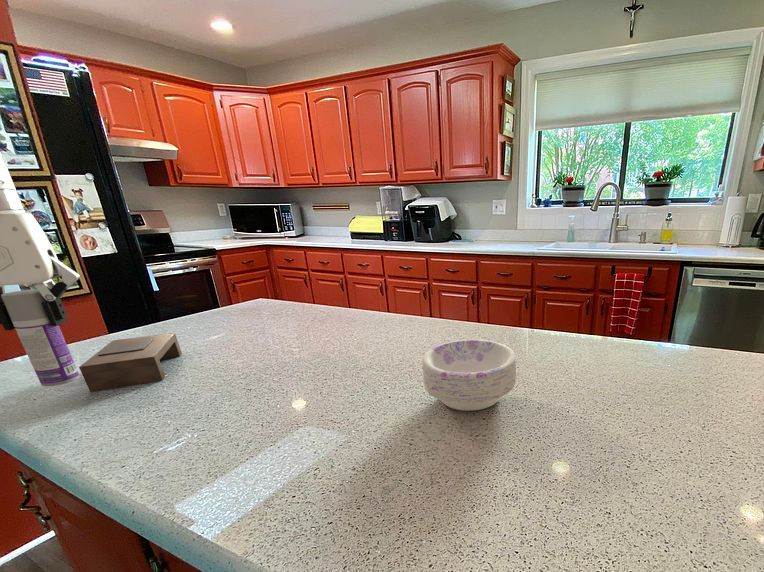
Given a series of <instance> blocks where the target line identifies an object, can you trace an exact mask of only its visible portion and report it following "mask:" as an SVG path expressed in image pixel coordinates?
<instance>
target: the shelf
mask: <svg viewBox="0 0 764 572" xmlns="http://www.w3.org/2000/svg"><path fill="white" fill-rule="evenodd" d="M182 354H183V353H182V350H181V347H180V344H179V341H178V337H177V334H176V332H170V333H161V334H153V335H147V336H146V335H145V336H137V337H130V338H122V339H121V338H119V339H113V340H111V341H110V342H109V343H107V345H105V346H104V347H103V348H101V349H100V350H99V351H98V352H96V353H95V354H94V355H92V356H91V357H90V358H89V359H87V360H86V361H84V362H83V363H82V364H80V366H78V369H79V371H80V374H81V375H82V378H83V380H84V382H85V384H86V386H87V389H88V391H89V392H90V393H93V392H98V391H99V392H100V391H105V390H111V389H118V388H125V387H130V386H136V385H143V384H149V383H156V382H161V381H164V379H165V378H166V375H165V372H164V369H163V366H162V363H161V360H165V359H171V358H178V357H181V356H182Z"/></svg>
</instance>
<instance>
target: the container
mask: <svg viewBox="0 0 764 572" xmlns="http://www.w3.org/2000/svg"><path fill="white" fill-rule="evenodd" d="M1 297H2V299H3V301H4V304H5V306H6V308H7V311H8V313H9V316H10V318H11V320H12V323H13V325H14V327H15V329H14V330H15V331H16V334H17V336H18V338H19V340H20V343H21V344H22V347H23V349H24V351H25V353H26V355H27V357H28V360H29V361H30V364H31V366H32V368H33V370H34V372H35V375H36V376H37V379H38V381H39V383H40V385H41V386H42V387H56V386H62V385H65V384H68V383H73V382H74V381H76V380H77V381H78V379H80V377H81V376H80V373H79V370H78V368H77V366H76V365H77V364H75V361H74V358H73V356H72V354H71V350H70V349H69V347H68V346H69V345H68V344H67V342H66V339H65V337H64V335H63V332H62V330H61V328H60V325H59V326H52V325H51V324H50V322H49V319H48V317H47V315H46V312H45V310H44V308H43V305H42V303H43V302H44V301H45V300H44V297H43V296H42V295H41V293H40V292H39V291H38V290H37V289H25V290H24V289H23V290H15V291H9V292H5V294H2V295H1Z"/></svg>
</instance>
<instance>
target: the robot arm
mask: <svg viewBox="0 0 764 572" xmlns="http://www.w3.org/2000/svg"><path fill="white" fill-rule="evenodd" d="M59 277H61V279H59V281H57V282H56V283H55V282H54V280H53V279H56V278H57V279H58V278H59ZM80 278H81V276H80V274H79V273H78V272H77V271H75V270H74V269H71V268H70V267H69V266H67V265H66V264H65V263H63V262H62V261H60V260H59V259H58V256H57V254H56V252H55V250H54V248H53V245H52V244H51V242H50V240H49V238H48V236H47V235H46V233H45V231H44V230H43V228H42V227H41V225H40V224H39V222H38V221H37V219H36V218H35V216H34V215H33V214H32V213H31V212H26V211H25V208H24V205H23V203H22V200H21V198H20V196H19V193H18V191H17V189H16V187H15V183H14V181H13V179H12V176H11V174H10V172H9V169H8V166H7V163H6V162H5V159H4V156H3V154H2V152H1V151H0V325H1V326H2V327H3V329H4V331H6V332H7V331H13V330H15V327H14V325H13V323H12V320H11V318H10V316H9V313H8V311H7V308H6V306H5V304H4V301H3V299H2V297H1V295H2V294H5V293H6V291H5V288H6V287H5V286H19V285H32V286H34V287H35V290H38V291H39V292H40V293H41V295H42V296H43V297H44V300H45V301H44V302H43V303H42V305H43V308H44V310H45V312H46V315H47V317H48V319H49V322H50V324H51V325H52V326H59V327H60V326H61V325H62V324H65V323H66V322H67V319H68V314H67V311H66V309H65V306H64V304H63V301H62V299H61V298H63V296H64V294H65V292H66V291H67V290H68V289H69V288H70V287H71V286H72V285H73V284H75V283H76V282H77V281H78V280H79V279H80Z"/></svg>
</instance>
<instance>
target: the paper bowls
mask: <svg viewBox="0 0 764 572" xmlns="http://www.w3.org/2000/svg"><path fill="white" fill-rule="evenodd" d="M421 364H422V376H423V386H424V389H425V391H426V392H427V393H428V395H429V396H431V397H433V398H435V399H437V400H439V401H440V402H441V403H442V404H443V405H445V406H447V407H448V408H451V409H452V410H457V411H464V412H465V411H467V412H470V411H471V412H472V411H473V412H474V411H480V410H485V409H488V408H489V407H492V406H493V405H495V404H496V403H498V402H499V400H501V398H502V397H503V396H505V395H507V394H509V393H510V392H511V391H513V389H514V388H515V385H516V381H517V356H516V353H515V351H514V350H513V349H512V348H511V347H509V346H507V345H505V344H503V343H500V342H498V341H497V342H496V341H492V340H485V339H460V340H453V341H448V342H443V343H441V344H438V345H435V346H433V347H431V348H429V349H428V350H427V351H426V352H425V353H424V354H423V356H422V359H421Z"/></svg>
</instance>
